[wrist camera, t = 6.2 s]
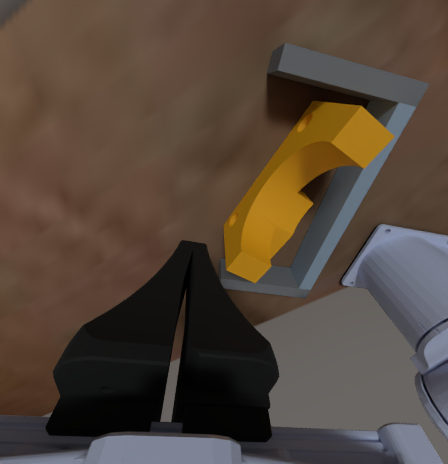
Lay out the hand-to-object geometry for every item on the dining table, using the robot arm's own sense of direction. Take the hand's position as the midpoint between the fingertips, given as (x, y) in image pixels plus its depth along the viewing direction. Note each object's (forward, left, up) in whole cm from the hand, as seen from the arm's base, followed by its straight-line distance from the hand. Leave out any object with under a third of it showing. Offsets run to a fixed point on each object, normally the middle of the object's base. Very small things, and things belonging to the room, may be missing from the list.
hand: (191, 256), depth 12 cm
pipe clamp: (-7, -2, -9) cm, 11 cm away
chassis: (-7, -1, -8) cm, 11 cm away
